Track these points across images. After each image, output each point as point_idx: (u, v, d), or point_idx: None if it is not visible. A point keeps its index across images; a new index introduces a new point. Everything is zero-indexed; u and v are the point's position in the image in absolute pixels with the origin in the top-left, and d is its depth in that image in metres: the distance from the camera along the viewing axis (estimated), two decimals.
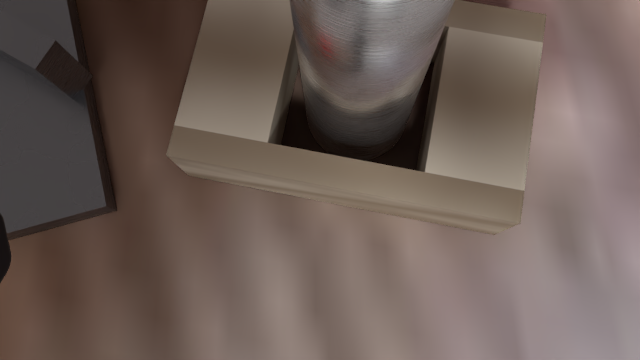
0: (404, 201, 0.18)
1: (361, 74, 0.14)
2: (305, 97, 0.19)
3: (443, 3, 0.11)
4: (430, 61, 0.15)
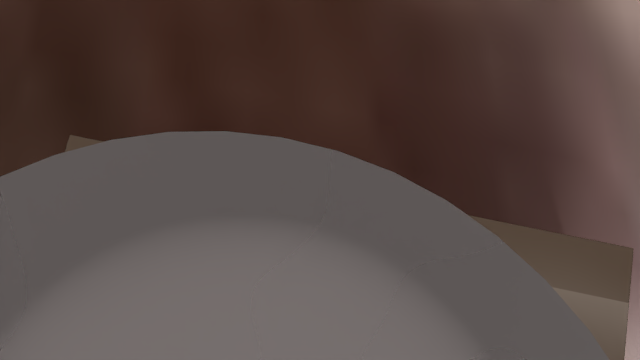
0: None
1: None
2: None
3: None
4: None
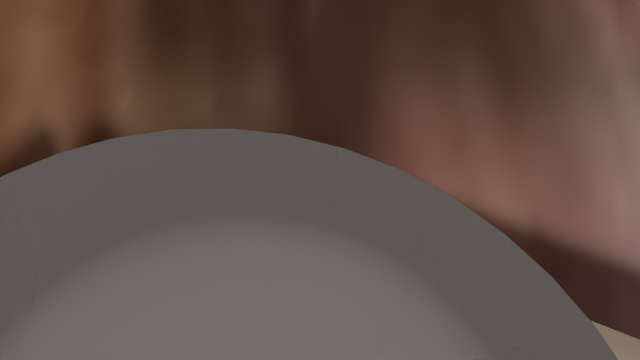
0: None
1: None
2: None
3: None
4: None
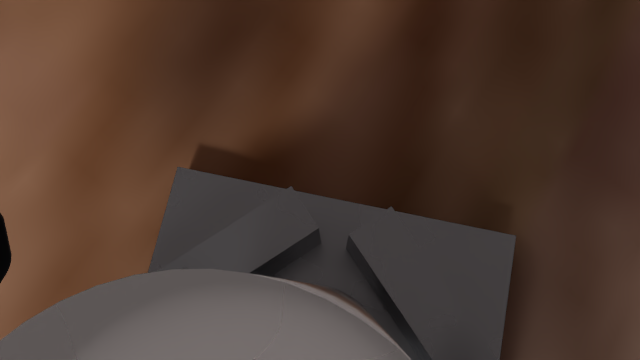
0: None
1: None
2: None
3: None
4: None
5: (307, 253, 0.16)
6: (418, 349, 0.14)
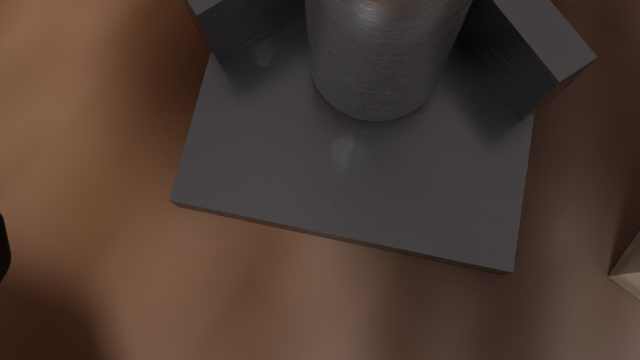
0: None
1: None
2: (309, 17, 0.13)
3: None
4: None
5: None
6: (474, 24, 0.16)
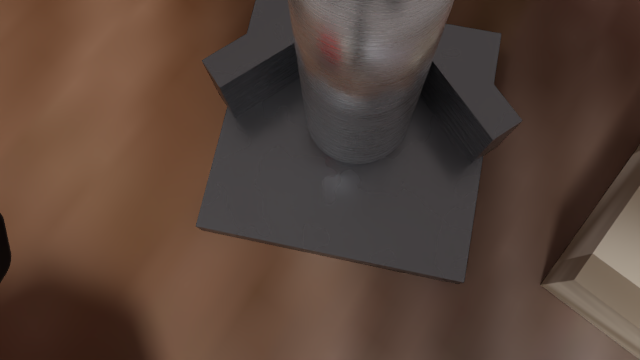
0: None
1: (362, 64, 0.13)
2: (304, 96, 0.18)
3: None
4: (434, 52, 0.15)
5: None
6: (433, 89, 0.20)
